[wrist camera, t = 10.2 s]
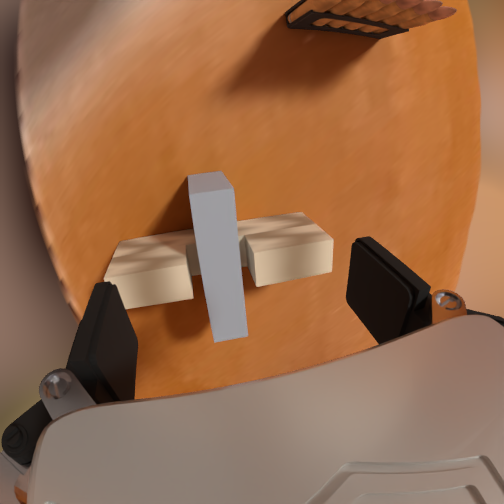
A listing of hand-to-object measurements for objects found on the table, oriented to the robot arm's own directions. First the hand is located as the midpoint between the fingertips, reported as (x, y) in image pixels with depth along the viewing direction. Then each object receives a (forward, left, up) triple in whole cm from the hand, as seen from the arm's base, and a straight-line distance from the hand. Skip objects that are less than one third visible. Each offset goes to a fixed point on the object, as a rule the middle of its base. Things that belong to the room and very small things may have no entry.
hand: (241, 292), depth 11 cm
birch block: (+5, 0, -17) cm, 18 cm away
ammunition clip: (-16, +14, -17) cm, 27 cm away
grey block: (+5, 0, -17) cm, 18 cm away
